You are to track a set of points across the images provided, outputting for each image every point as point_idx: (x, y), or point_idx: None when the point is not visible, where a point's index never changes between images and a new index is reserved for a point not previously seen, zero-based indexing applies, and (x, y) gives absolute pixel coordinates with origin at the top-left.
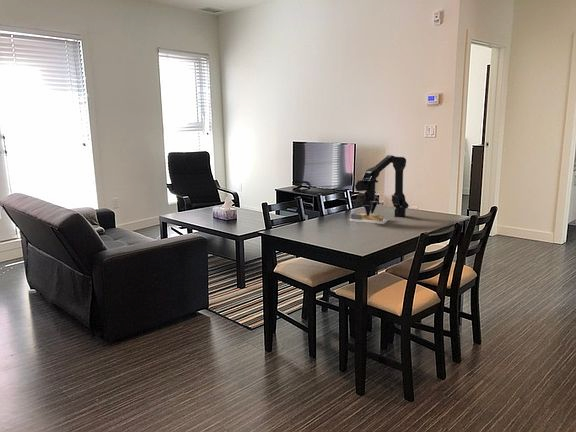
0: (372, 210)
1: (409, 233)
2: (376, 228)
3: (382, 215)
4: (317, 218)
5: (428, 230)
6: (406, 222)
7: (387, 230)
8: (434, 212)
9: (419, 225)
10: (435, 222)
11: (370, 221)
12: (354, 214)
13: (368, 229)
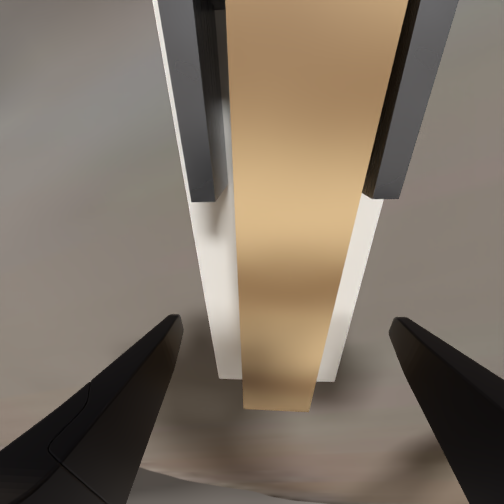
0: (416, 366)
1: None
2: (77, 354)
3: (292, 410)
4: None
5: (200, 478)
6: (330, 431)
7: None
8: None
9: (277, 462)
10: (362, 487)
11: (206, 295)
12: (182, 17)
13: (6, 324)
